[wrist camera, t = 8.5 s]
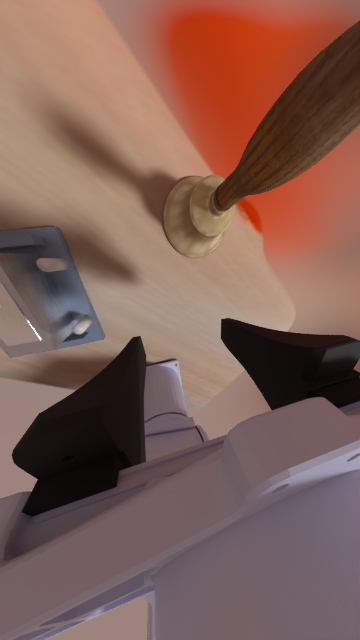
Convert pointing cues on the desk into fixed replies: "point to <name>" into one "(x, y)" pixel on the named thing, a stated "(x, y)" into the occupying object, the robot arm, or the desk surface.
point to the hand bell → (273, 147)
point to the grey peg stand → (58, 277)
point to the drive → (30, 307)
